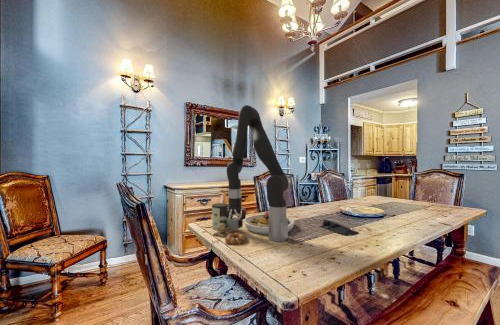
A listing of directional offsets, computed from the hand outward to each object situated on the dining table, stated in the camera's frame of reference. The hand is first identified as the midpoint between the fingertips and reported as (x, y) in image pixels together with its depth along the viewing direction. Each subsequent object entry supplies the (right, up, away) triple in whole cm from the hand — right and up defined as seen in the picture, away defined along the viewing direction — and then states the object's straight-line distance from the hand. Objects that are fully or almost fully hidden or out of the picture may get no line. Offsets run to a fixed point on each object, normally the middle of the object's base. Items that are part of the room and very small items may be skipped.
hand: (235, 226), depth 130 cm
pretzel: (+1, -4, -15) cm, 15 cm away
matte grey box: (0, -1, 0) cm, 1 cm away
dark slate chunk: (+60, -4, +3) cm, 61 cm away
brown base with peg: (-7, -4, -4) cm, 9 cm away
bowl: (+20, -4, +8) cm, 22 cm away
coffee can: (-10, -4, +9) cm, 14 cm away
